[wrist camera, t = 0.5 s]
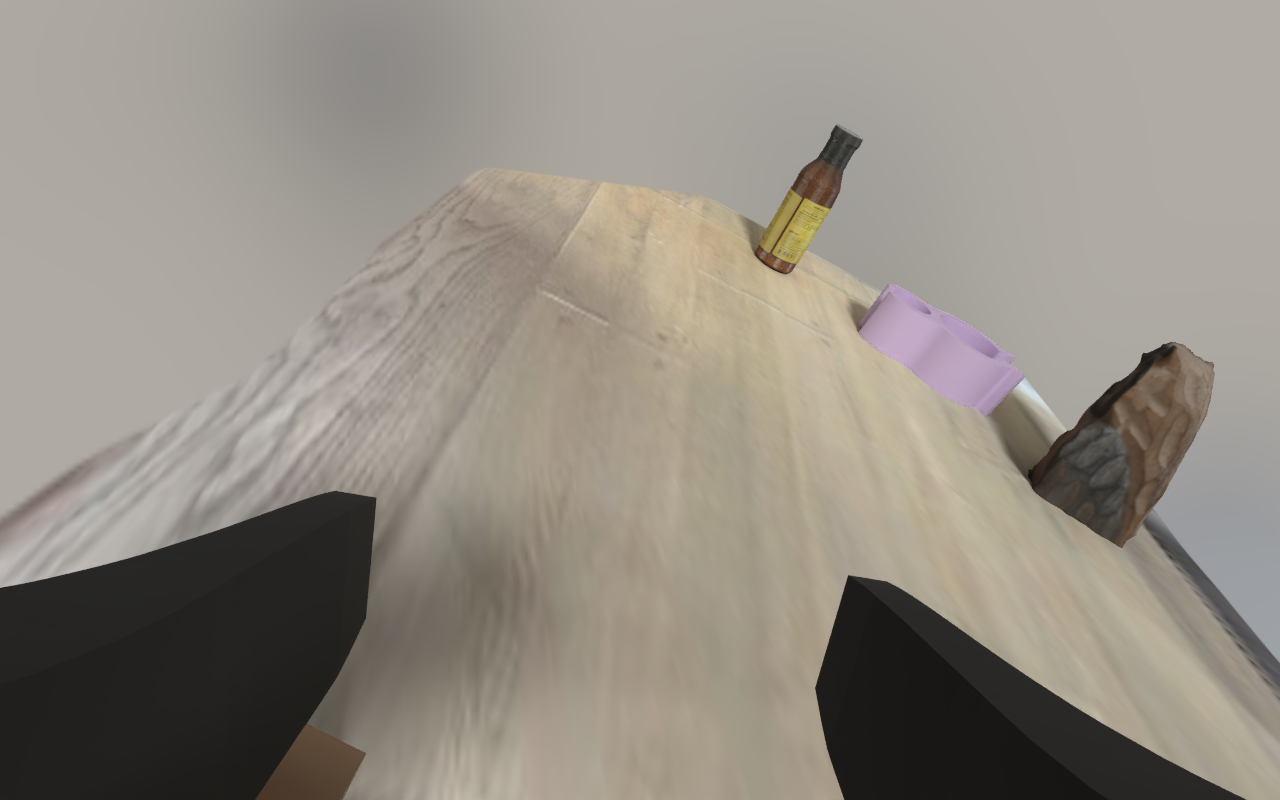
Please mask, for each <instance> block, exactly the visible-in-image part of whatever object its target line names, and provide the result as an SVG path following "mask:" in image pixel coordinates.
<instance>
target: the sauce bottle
mask: <svg viewBox="0 0 1280 800" xmlns="http://www.w3.org/2000/svg"><path fill="white" fill-rule="evenodd" d="M862 140H863V139H862V138H861V137H860V136H858V135H857V134H855V133H853V132H852V131H850V130H848V129H846V128H844V127H842V126H840V125H836V126H835V128H834V129H833V131H832V132H831V136H830V139H829V140H828V142H827V144H826V146H825V147H824V149H823V151H822V152H821V153H820V155H819V157H818V158H817V159H816V160H814V161H813V162H811V163H809V164H808V165H806V166H805V167H804V168H803V169H802V170H801V172H800V173H799V174H798V177H797V179H796V181H795V182H794V184H793V186H792V187H791V188H790V190H789V191H788V193H787V195H786V197H785V198H784V200H783V202H782V204H781V206H780V207H779V209H778V211H777V213H776V214H775V216H774V218H773V220H772V221H771V223H770V225H769V226H768V228H767V230H766V231H765V233H764V235H763V237H762V238H761V240H760V242H759V246H758V248H757V250H756V255H757V257H758V258H759V259H761V260H762V261H763V262H764V263H765V264H766V265H768V266H769V267H771V268H773V269H775V270H777V271H779V272H782V273H790V272H791V271H792V270H793V269H794V267H795V266H796V264H797V263H798V262H799V261H800V259H801V257H802V256H803V254H804V252H805V251H806V249H807V248H808V246H809V244H810V242H811V241H812V239H813V238H814V236H815V234H816V233H817V231H818V229H819V228H820V226H821V224H822V223H823V221H824V220H825V218H826V216H827V215H828V213H829V211H830V209H831V208H832V206H833V204H834V202H835V200H836V198H837V196H838V194H839V192H840V187H841V180H842V175H843V171H844V169H845V168H846V165H847V163H848V162H849V160H850V158H851V157H852V155H853V153H854V152H855V150H857V149H858V148H859V146H860V145H861V143H862Z"/></svg>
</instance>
